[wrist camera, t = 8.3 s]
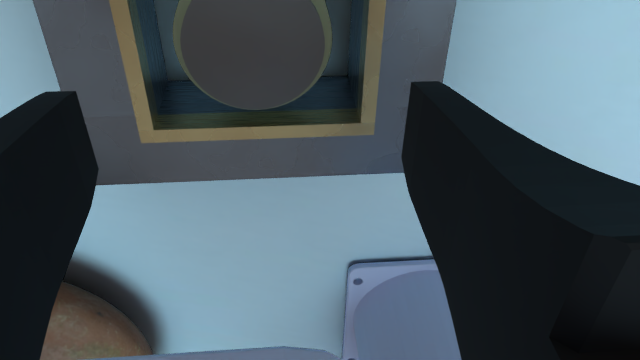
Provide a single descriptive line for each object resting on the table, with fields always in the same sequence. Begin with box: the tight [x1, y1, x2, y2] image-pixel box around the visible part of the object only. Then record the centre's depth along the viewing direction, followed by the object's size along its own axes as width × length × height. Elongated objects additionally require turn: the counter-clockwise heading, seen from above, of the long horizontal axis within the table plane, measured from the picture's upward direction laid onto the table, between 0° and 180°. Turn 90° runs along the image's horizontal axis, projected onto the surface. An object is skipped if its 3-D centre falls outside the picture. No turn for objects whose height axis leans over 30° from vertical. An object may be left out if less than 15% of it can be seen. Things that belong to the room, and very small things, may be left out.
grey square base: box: [33, 0, 456, 185], centre depth 18 cm, size 13×13×4 cm
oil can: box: [173, 0, 332, 110], centre depth 17 cm, size 4×4×5 cm
